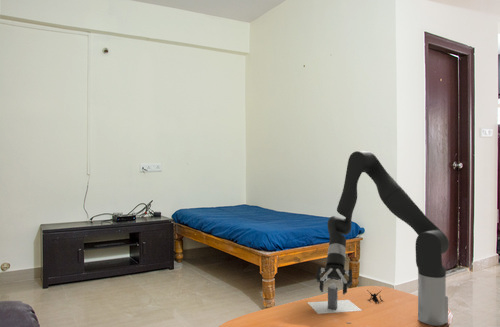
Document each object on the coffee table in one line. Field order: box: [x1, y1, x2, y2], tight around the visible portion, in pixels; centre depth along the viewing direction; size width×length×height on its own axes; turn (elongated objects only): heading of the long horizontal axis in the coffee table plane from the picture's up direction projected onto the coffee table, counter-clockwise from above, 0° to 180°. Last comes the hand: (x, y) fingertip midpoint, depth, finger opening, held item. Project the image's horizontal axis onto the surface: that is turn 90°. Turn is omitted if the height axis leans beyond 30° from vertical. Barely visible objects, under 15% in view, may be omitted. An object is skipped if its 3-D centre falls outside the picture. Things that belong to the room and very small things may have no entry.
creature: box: [367, 290, 384, 305], centre depth 158 cm, size 8×5×8 cm
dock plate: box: [307, 299, 363, 315], centre depth 152 cm, size 18×12×1 cm, turn 101°
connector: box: [327, 282, 339, 310], centre depth 151 cm, size 5×4×9 cm
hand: (332, 292), depth 151 cm, fingers open, 8 cm apart
